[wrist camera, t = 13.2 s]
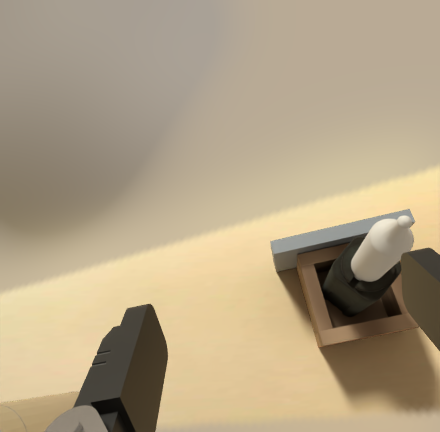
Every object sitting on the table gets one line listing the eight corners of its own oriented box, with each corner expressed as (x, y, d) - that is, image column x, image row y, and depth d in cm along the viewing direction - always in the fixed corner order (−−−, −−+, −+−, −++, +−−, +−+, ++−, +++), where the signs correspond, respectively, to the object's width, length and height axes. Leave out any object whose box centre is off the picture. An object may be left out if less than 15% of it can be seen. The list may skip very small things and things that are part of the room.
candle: (376, 289, 43) (470, 213, 21) (351, 321, 43) (421, 277, 20) (341, 264, 45) (393, 168, 23) (317, 293, 45) (345, 225, 22)
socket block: (318, 347, 43) (323, 345, 37) (296, 268, 48) (297, 254, 41) (402, 330, 42) (422, 325, 36) (372, 251, 47) (385, 234, 40)
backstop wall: (276, 271, 48) (273, 254, 40) (273, 261, 49) (270, 241, 41) (393, 245, 46) (415, 221, 38) (388, 235, 47) (409, 208, 39)
